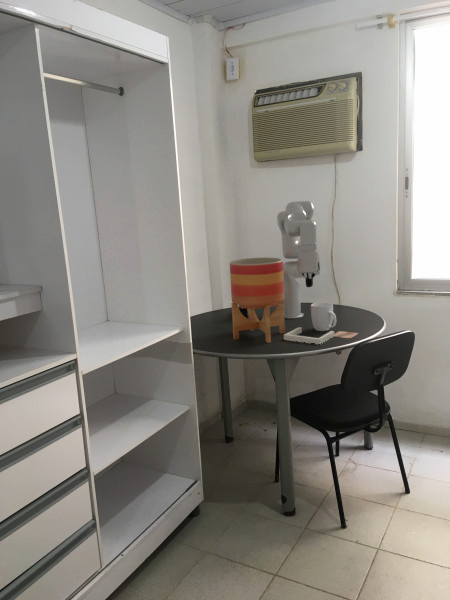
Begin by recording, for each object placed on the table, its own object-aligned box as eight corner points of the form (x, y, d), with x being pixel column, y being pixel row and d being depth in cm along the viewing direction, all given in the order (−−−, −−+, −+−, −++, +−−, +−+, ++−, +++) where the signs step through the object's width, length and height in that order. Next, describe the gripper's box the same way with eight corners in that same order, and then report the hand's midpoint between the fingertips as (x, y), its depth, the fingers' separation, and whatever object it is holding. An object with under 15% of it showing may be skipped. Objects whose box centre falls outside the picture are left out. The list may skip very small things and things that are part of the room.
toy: (255, 300, 307) (251, 308, 277) (256, 311, 308) (252, 320, 278) (236, 301, 308) (230, 309, 279) (237, 311, 310) (231, 321, 280)
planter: (242, 346, 230) (238, 266, 223) (226, 333, 256) (221, 260, 248) (295, 339, 237) (293, 260, 230) (274, 326, 263) (271, 255, 255)
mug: (343, 331, 246) (343, 305, 244) (327, 335, 241) (327, 309, 238) (322, 325, 259) (321, 301, 256) (306, 329, 253) (306, 304, 250)
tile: (330, 336, 239) (330, 336, 239) (339, 331, 246) (339, 331, 246) (350, 338, 233) (350, 338, 233) (358, 333, 241) (358, 333, 240)
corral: (283, 339, 237) (283, 334, 237) (299, 332, 249) (299, 327, 249) (320, 344, 226) (320, 339, 226) (334, 336, 238) (334, 331, 238)
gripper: (290, 248, 232) (291, 287, 236) (319, 249, 223) (320, 289, 227) (298, 247, 238) (299, 284, 242) (326, 247, 229) (327, 286, 233)
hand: (309, 286), depth 234 cm, fingers closed
